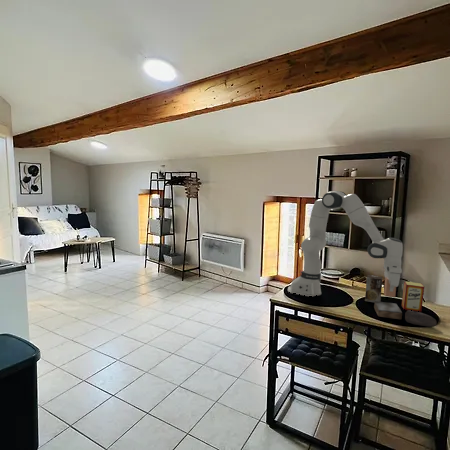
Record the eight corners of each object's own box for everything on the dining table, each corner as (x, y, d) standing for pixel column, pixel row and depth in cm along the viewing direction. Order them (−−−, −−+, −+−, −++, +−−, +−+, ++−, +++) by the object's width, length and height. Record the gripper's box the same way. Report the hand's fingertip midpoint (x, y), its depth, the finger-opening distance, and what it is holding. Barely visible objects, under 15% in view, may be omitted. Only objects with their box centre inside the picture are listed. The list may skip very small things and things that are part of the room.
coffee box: (380, 300, 211) (383, 276, 208) (380, 303, 205) (382, 279, 203) (365, 297, 215) (367, 274, 213) (364, 300, 209) (366, 276, 207)
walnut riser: (378, 316, 185) (378, 309, 185) (374, 307, 199) (374, 301, 198) (401, 319, 182) (402, 312, 182) (395, 310, 196) (396, 303, 195)
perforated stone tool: (435, 326, 175) (437, 314, 174) (436, 330, 170) (438, 317, 169) (404, 320, 182) (405, 308, 181) (403, 323, 177) (405, 311, 176)
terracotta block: (385, 296, 187) (387, 279, 186) (383, 293, 192) (385, 277, 191) (395, 297, 186) (396, 280, 185) (393, 294, 191) (394, 277, 189)
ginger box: (418, 308, 200) (421, 283, 198) (421, 311, 194) (424, 286, 192) (401, 305, 203) (404, 280, 201) (403, 309, 197) (406, 284, 195)
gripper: (382, 261, 197) (380, 283, 199) (390, 270, 178) (387, 294, 180) (394, 262, 196) (391, 284, 198) (402, 271, 176) (400, 295, 178)
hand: (389, 289), depth 188 cm, fingers closed on terracotta block, 5 cm apart
